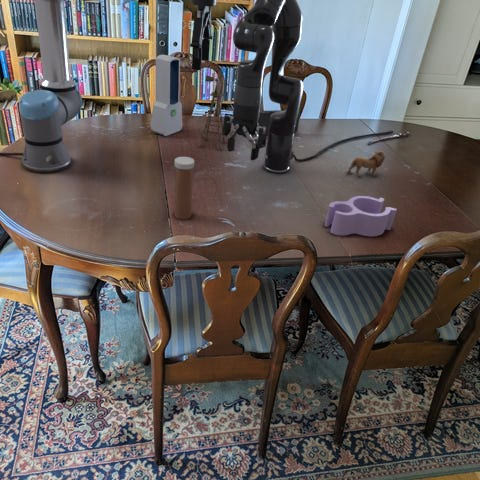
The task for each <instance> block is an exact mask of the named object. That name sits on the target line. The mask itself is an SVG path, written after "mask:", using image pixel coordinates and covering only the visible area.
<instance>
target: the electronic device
mask: <svg viewBox="0 0 480 480" xmlns="http://www.w3.org/2000/svg"><path fill="white" fill-rule="evenodd" d="M180 82H181V58H179V57H176V56H173V55H167V54H159V55H158V56H156V57H155V101H154V103H153V105H152V110H151V111H152V113H151V119H150V125H149V126H150V128H151V131H152V132H153V133H154V134H157V135H160V136H163V137H168V136H171V135H172V134H175V133H178V132H180V131H182V129H183V107H182V106H183V104H182V102H181V101H180V92H181V91H180V89H181V86H180V85H181V83H180Z"/></svg>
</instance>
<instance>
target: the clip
mask: <svg viewBox="0 0 480 480" xmlns="http://www.w3.org/2000/svg"><path fill="white" fill-rule="evenodd" d="M384 201H385V198H383V197H379V198H376V197H373V196H368V195H357V196H352V197H350V198H349V200H347V201H339V200H338V201H337V200H335V201H332V202H330V203H329V205H328V208H327V214H326V218H325V222H324V227H326V228H329V227H330V226H331V227H330V233H331V234H333V235H336V236H348V235H353V234H356V235H360V236H364V237H365V236H366V237H378V236H381V235H382V234H384V232H385V230H387V231H391V229H392V226H393V222H394V219H395V216H396V213H397V210H398V209H397V208H395V207H391V206H385V207H384V211H383V212H382V209H383V206H384Z"/></svg>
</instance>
